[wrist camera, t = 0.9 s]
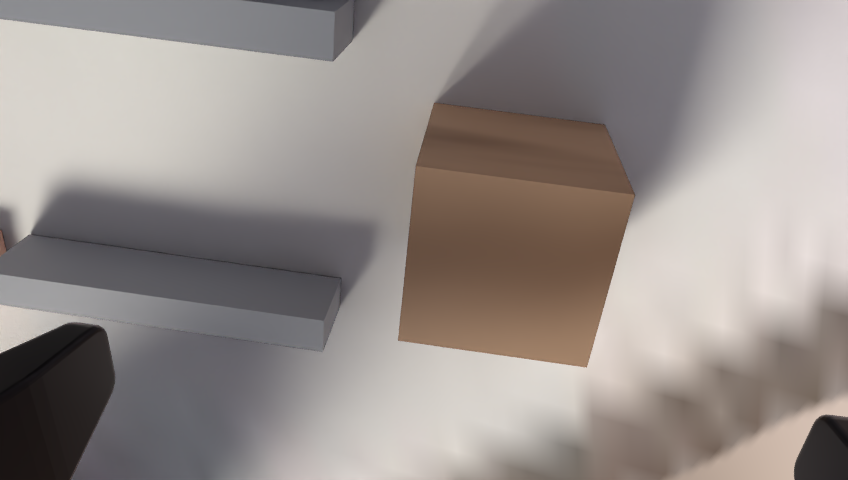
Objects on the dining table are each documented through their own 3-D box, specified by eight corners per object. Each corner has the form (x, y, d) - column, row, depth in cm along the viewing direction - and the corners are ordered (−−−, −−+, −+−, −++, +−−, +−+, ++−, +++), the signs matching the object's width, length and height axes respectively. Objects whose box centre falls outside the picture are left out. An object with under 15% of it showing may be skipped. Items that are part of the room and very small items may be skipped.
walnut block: (569, 269, 22) (587, 367, 17) (418, 248, 22) (397, 340, 18) (604, 124, 19) (634, 195, 15) (434, 102, 20) (415, 166, 15)
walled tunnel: (339, 307, 23) (322, 351, 21) (35, 264, 24) (-12, 303, 22) (354, -4, 18) (335, 11, 16) (-31, -52, 19) (-101, -43, 17)
